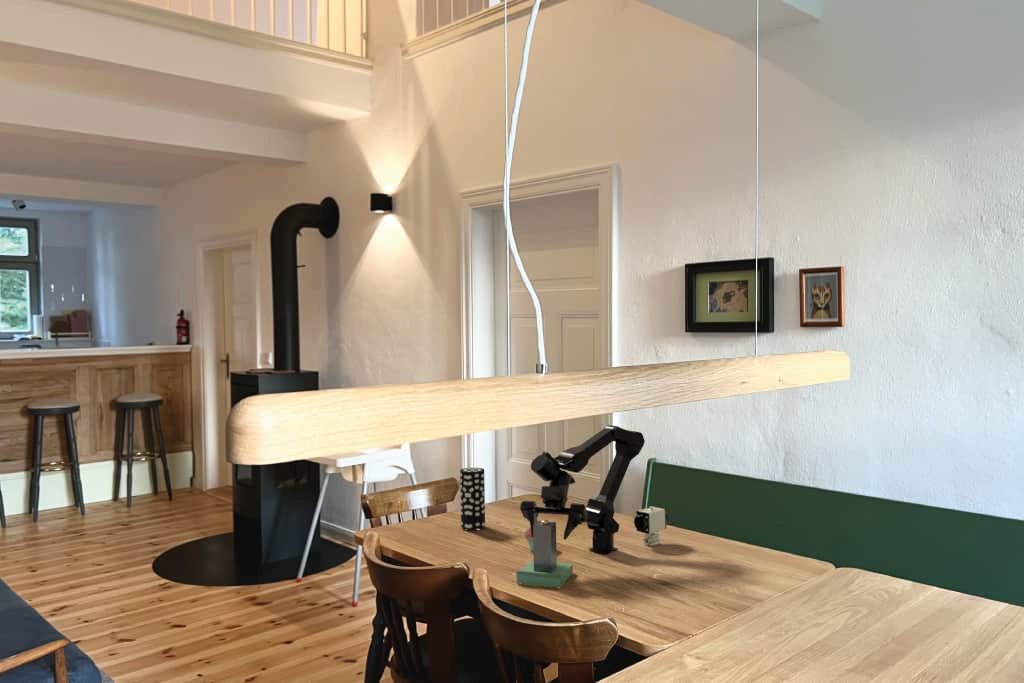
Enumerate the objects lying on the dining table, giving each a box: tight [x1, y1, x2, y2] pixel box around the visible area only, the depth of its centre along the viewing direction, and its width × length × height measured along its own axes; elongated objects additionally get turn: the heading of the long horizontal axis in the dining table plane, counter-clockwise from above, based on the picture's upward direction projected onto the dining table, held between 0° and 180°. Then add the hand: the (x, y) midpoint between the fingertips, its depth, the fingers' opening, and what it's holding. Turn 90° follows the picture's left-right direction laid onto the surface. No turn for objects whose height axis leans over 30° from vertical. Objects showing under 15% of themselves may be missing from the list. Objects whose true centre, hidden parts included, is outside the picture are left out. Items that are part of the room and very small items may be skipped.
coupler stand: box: [516, 560, 574, 589], centre depth 210 cm, size 13×12×4 cm
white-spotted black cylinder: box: [459, 467, 486, 530], centre depth 265 cm, size 8×8×20 cm
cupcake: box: [523, 527, 534, 552], centre depth 238 cm, size 9×8×12 cm
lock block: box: [533, 519, 558, 573], centre depth 210 cm, size 5×5×13 cm
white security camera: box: [633, 505, 670, 547], centre depth 241 cm, size 6×12×12 cm, turn 130°
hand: (548, 537), depth 213 cm, fingers open, 9 cm apart
